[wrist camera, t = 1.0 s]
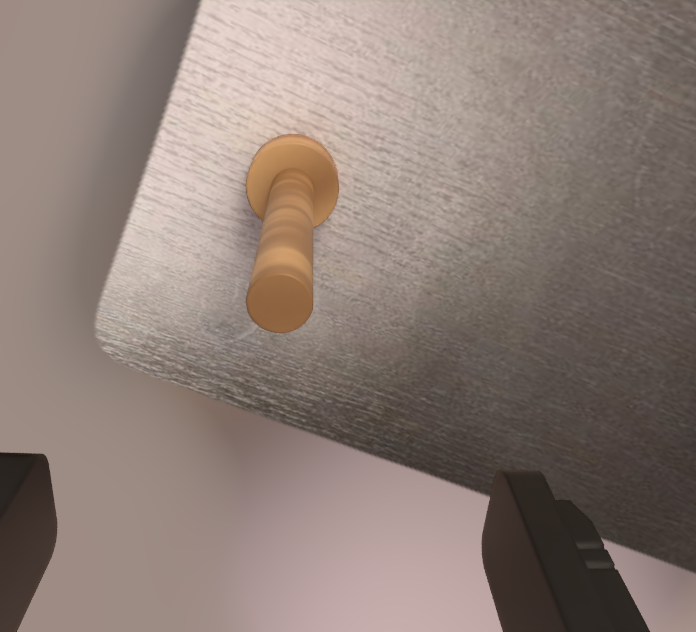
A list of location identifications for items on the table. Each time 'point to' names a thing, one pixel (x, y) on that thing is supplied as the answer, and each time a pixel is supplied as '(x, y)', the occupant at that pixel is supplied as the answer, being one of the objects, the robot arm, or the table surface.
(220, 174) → the table surface
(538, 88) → the table surface
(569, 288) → the table surface
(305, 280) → the pestle
